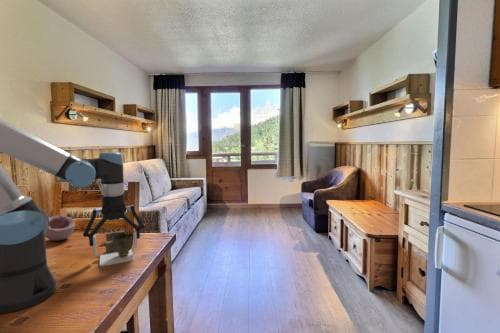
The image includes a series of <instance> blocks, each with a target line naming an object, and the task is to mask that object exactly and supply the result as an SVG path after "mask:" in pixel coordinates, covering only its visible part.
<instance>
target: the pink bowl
mask: <svg viewBox="0 0 500 333" xmlns="http://www.w3.org/2000/svg"><path fill="white" fill-rule="evenodd" d="M48 218H49V228H48V231H47V234H46V237H45V239H46V238H47V239H48V240H51V241H55V242H57V241H63V240H65V239H68V238H69V237H70V236H71V235H72V234H73V233H74V231H75V228H76V223H75V222H76V221H74V219H73V218H71V216H70V217H69V216H67V215H61V214H59V215H58V214H57V215H51V216H50V217H49V216H48Z"/></svg>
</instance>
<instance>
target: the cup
mask: <svg viewBox="0 0 500 333" xmlns="http://www.w3.org/2000/svg"><path fill="white" fill-rule="evenodd" d="M112 242H113V247H114V250H115V251H116V252H118V255H119V256H120V257H124V256H127V255H128V254H129V250H130V249H132V248H133V246H134V245H133V244H134V233H133V232H128V231H126V232H125V231H124V232H122V233H121V234H120V233H118V235H117V236H115V235H114V236H113V235H112Z"/></svg>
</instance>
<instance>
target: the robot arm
mask: <svg viewBox="0 0 500 333" xmlns="http://www.w3.org/2000/svg"><path fill="white" fill-rule="evenodd" d="M0 153H2V154H5V155H7V156H9V157H11V158H14V159H17V161H21V162H23V163H24V164H25V163H26V164H27V165H30V166H33V167H34V168H37V169H39V170H40V171H43V172H46V173H47V174H50V175H52V176H55V177H56V178H59V180H60V182H63V183H64V182H66V183H69V185H71V186H74V187H77V188H84V187H87V186H89V185H92V183H93V182H94V181H95V180H96V181H98V180H100V191H101V192H100V193H101V208H100V209H97V208H93V209H92V213H91V217H90V219H89V221H88V223H87V226H86V227H85V229H84V231H83V233H82V237H84V238H88V240H89V241H88V242H89V247H93V256H97V237H96V233H97V232H98V231H99V230H100V228H101V227H102V226H103V225H104V224H105V223H106V222H107V220H109V221H113V220H114V221H115V220H120V219H123V220H124V221H125V222H126V223H128V225H130V226H131V227H132V228H133V244H134V245H133V247H134V249H138V239H140V237H141V232H140V231H141V230H142V229H145V224H144V223H143V221H142V219H141V218H140V217H139V215H138V213H137V212H136V209H135V206H134V204H130V205H128V206H127V205H126V198H125V197H126V196H125V194H124V193H125V181H124V178H125V177H124V161H123V154H121V152H117V151H115V152H114V151H113V152H111V151H110V152H109V151H108V152H100V153H99V156H98V157H97V158H80V157H78V156H76V155H73V154H71V153H69V152H68V151H65V150H63V149H62V148H59V147H58V146H56V145H53V144H51V143H49V142H47V141H46V140H43V139H41V138H39V137H37V136H36V135H33V134H31V133H29V132H27V131H25V130H23V129H21V128H19V127H17V126H14V125H13V124H11V123H10V122H7V121H4V120H3V119H1V118H0ZM127 211H129V212H131V214H132V216H133V218H134V219H135V221H136V222H137V224H136V223H135V222H134V221H133V220H132V219H131V218H129V216H127V215H126V212H127ZM100 214H101V215H102V218H101V219H100V220H99V221H98V222H97V224H96V225H95V226H94V228H93V229H92V230H91V228H92V226H93V223H94V222H95V220H96V217H97V216H99V215H100ZM48 228H49V216H48V214H47V213H46V212H45V211H44V210H43V209H41V208H40V207H39V206H38V204H37V203H36V202H35V200H34V199H33V198H32V197H31V196H25V195H24V194H23V193H22V192H21V191H20V189H19V188H18V186H17V185H16V184H15V182H14V181H13V179H12V177H10V175H9V174H8V172H7V171H6V169H5V168H4V167H3V165H2V164H1V163H0V314H6V313H13V312H17V311H21V310H25V309H27V308H30V307H33V306H35V305H37V304H40V303H42V302H44V301H45V300H47V299H48V298H50V297H51V296H52V295H53V294H54V293H55V292H56V290H57V281H56V279H55V277H54V274H53V273H52V270H51V269H50V267H49V266H48V261H47V246H46V234H47V231H48ZM90 230H91V231H90Z"/></svg>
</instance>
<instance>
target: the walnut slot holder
mask: <svg viewBox="0 0 500 333" xmlns="http://www.w3.org/2000/svg"><path fill="white" fill-rule="evenodd" d="M122 232H124V233H125V231H124V229H123V230H118V231H110V232H105V254H107V253H113V252H116V251H115V250H114V247H113V242H112V235H113V236H114V235H115V236H117V235H118V233H120V234H121V233H122Z"/></svg>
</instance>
